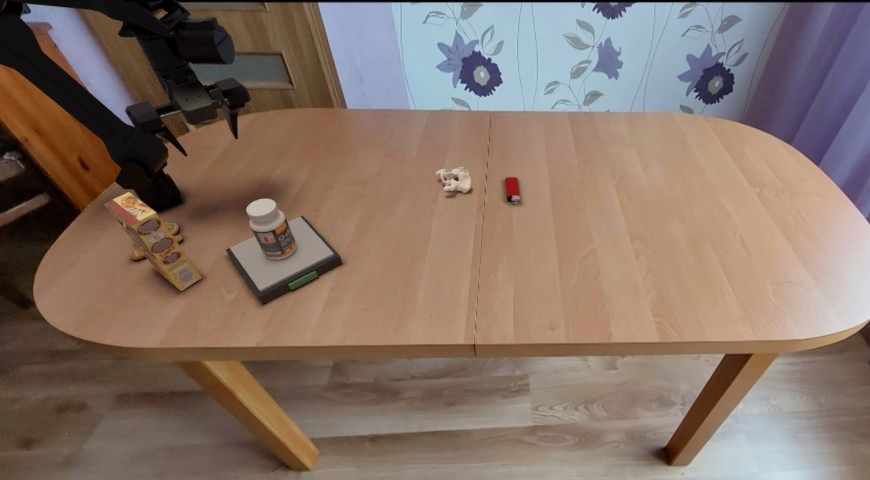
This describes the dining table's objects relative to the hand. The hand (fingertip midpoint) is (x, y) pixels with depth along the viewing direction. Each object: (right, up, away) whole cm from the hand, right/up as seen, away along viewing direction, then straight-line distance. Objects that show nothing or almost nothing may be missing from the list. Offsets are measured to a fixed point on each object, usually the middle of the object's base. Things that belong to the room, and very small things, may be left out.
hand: (211, 146), depth 88 cm
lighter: (+57, -7, +13) cm, 59 cm away
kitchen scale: (+15, -22, -2) cm, 26 cm away
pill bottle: (+15, -20, -4) cm, 25 cm away
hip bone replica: (+45, -5, +15) cm, 47 cm away
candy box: (-3, -24, -5) cm, 25 cm away
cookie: (-10, -18, +1) cm, 21 cm away
